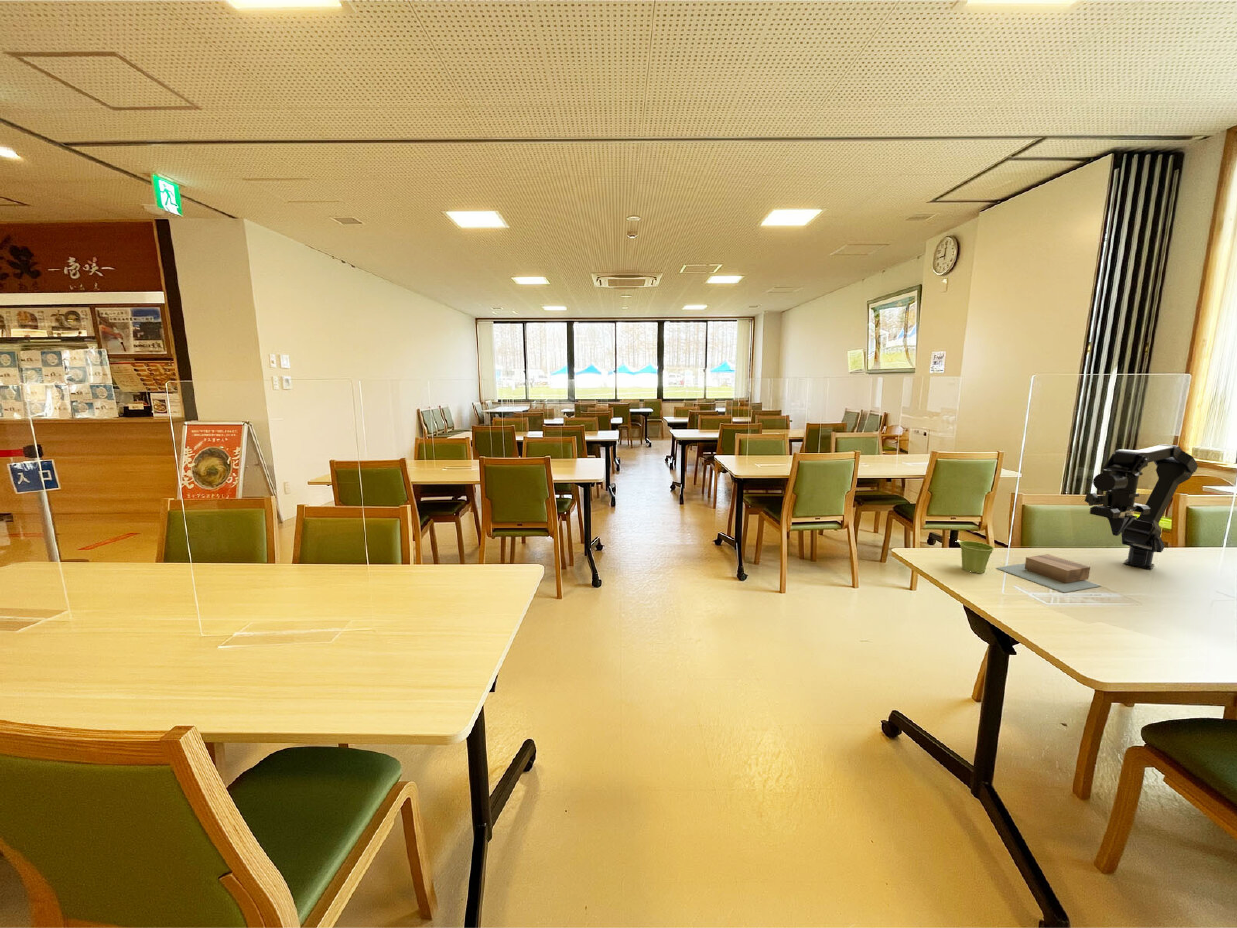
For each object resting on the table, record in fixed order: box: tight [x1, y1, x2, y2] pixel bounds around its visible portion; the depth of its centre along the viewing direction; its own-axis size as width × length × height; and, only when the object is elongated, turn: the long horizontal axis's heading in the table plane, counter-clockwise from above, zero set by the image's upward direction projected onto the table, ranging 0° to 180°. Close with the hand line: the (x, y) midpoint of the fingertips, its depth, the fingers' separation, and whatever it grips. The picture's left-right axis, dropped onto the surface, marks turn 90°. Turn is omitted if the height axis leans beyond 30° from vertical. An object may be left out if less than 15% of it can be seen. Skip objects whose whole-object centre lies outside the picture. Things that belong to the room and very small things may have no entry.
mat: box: [996, 563, 1102, 594], centre depth 158 cm, size 16×20×1 cm
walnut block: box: [1025, 553, 1091, 583], centre depth 158 cm, size 4×12×10 cm
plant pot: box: [958, 540, 995, 574], centre depth 163 cm, size 9×9×9 cm
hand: (1115, 535), depth 161 cm, fingers closed
